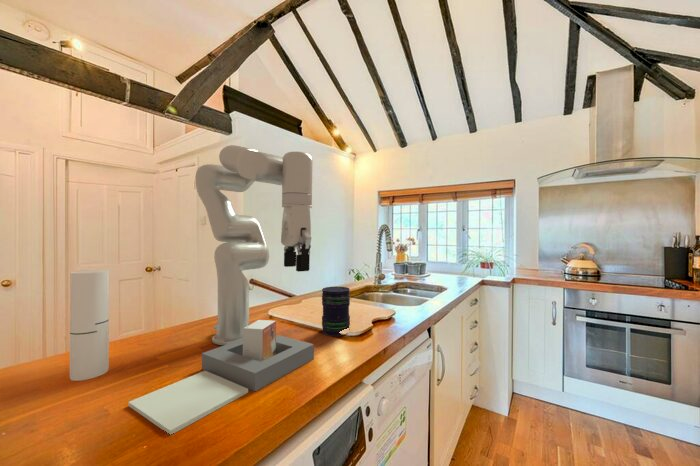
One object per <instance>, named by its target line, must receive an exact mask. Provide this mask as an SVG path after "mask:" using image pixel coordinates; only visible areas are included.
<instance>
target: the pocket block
mask: <svg viewBox="0 0 700 466" xmlns="http://www.w3.org/2000/svg"><path fill="white" fill-rule="evenodd" d="M314 359H315V344H314V343H311V342H307V341H303V340H298V339H294V338H292V337H287V336H283V335H279V334H276V355H274V356H272V357H270V358H268V359H266V360H264V361H261V362H259V361H256V360H253V359H250V358H247V357H245V356H243V339H241V340H238V341H235V342H232V343H230V344H227V345H220V346H219V347H216V348H213V349H209V350H207V351H205V352H201V370H203V371H207V372H210V373H212V374H214V375H217V376H219V377H222V378H224V379H226V380H229V381H231V382H233V383H236V384H238V385H240V386H243V387H245V388H248V390H249V391H253V392H257V391H259V390H260V389H263V388H264V387H267V386H268V385H270V384H272V383H273V382H276V381H277V380H279V379H280V378H282V377H284V376H286V375H288V374H289V373H292V372H293V371H295V370H297V369H298V368H300V367H302V366H304V365H305V364H307V363H308V362H311V361H312V360H314Z"/></svg>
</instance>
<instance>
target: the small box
mask: <svg viewBox="0 0 700 466" xmlns="http://www.w3.org/2000/svg"><path fill="white" fill-rule="evenodd" d="M276 335H277V320H267V319H266V320H265V319H257V320H256V321H254V322H252V323H251V324H250V323H249V326H247V327H244V328H243V356H245V357H247V358H250V359H253V360H256V361H259V362H261V361H264V360H266V359H268V358H270V357H272V356H274V355H276Z"/></svg>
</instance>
